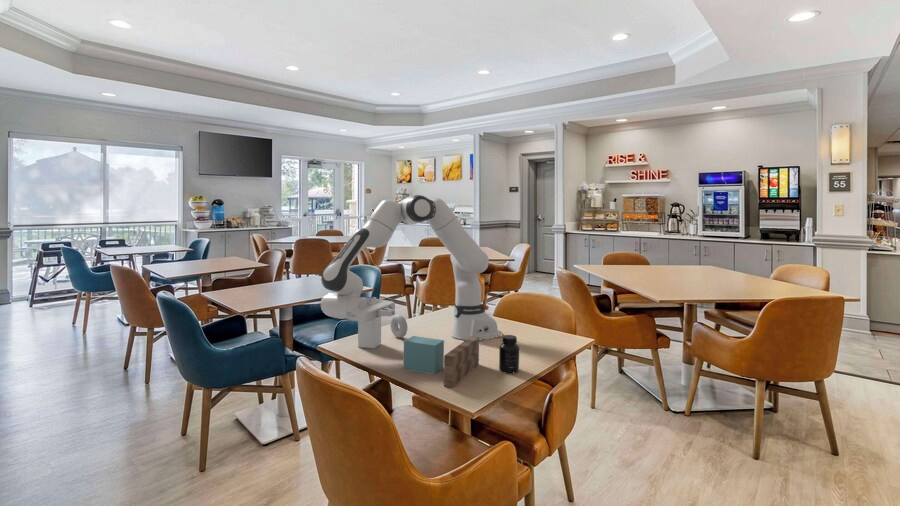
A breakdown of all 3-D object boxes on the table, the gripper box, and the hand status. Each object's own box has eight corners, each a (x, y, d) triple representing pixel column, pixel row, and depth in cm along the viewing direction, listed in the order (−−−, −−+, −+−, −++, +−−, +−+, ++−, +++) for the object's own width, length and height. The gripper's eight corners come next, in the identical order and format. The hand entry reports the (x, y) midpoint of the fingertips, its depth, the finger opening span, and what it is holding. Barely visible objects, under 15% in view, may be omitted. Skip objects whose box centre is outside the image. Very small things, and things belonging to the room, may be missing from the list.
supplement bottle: (497, 367, 164) (498, 333, 163) (516, 366, 165) (517, 333, 164) (501, 374, 158) (501, 339, 156) (520, 373, 158) (521, 339, 157)
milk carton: (375, 348, 183) (374, 301, 181) (358, 347, 185) (357, 300, 183) (381, 343, 190) (381, 297, 188) (364, 342, 192) (364, 297, 190)
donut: (388, 335, 202) (388, 313, 201) (395, 334, 204) (395, 312, 203) (402, 341, 194) (402, 317, 193) (409, 339, 197) (409, 316, 196)
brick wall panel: (470, 363, 168) (471, 336, 167) (478, 364, 167) (479, 337, 166) (443, 386, 146) (444, 355, 145) (452, 388, 145) (453, 356, 144)
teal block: (403, 369, 162) (403, 341, 161) (413, 363, 168) (413, 335, 167) (435, 374, 157) (435, 345, 156) (443, 367, 163) (443, 340, 162)
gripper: (343, 306, 161) (377, 310, 156) (375, 296, 180) (406, 299, 175) (343, 323, 162) (377, 328, 157) (375, 312, 181) (406, 316, 175)
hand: (393, 313), depth 166 cm, fingers closed
